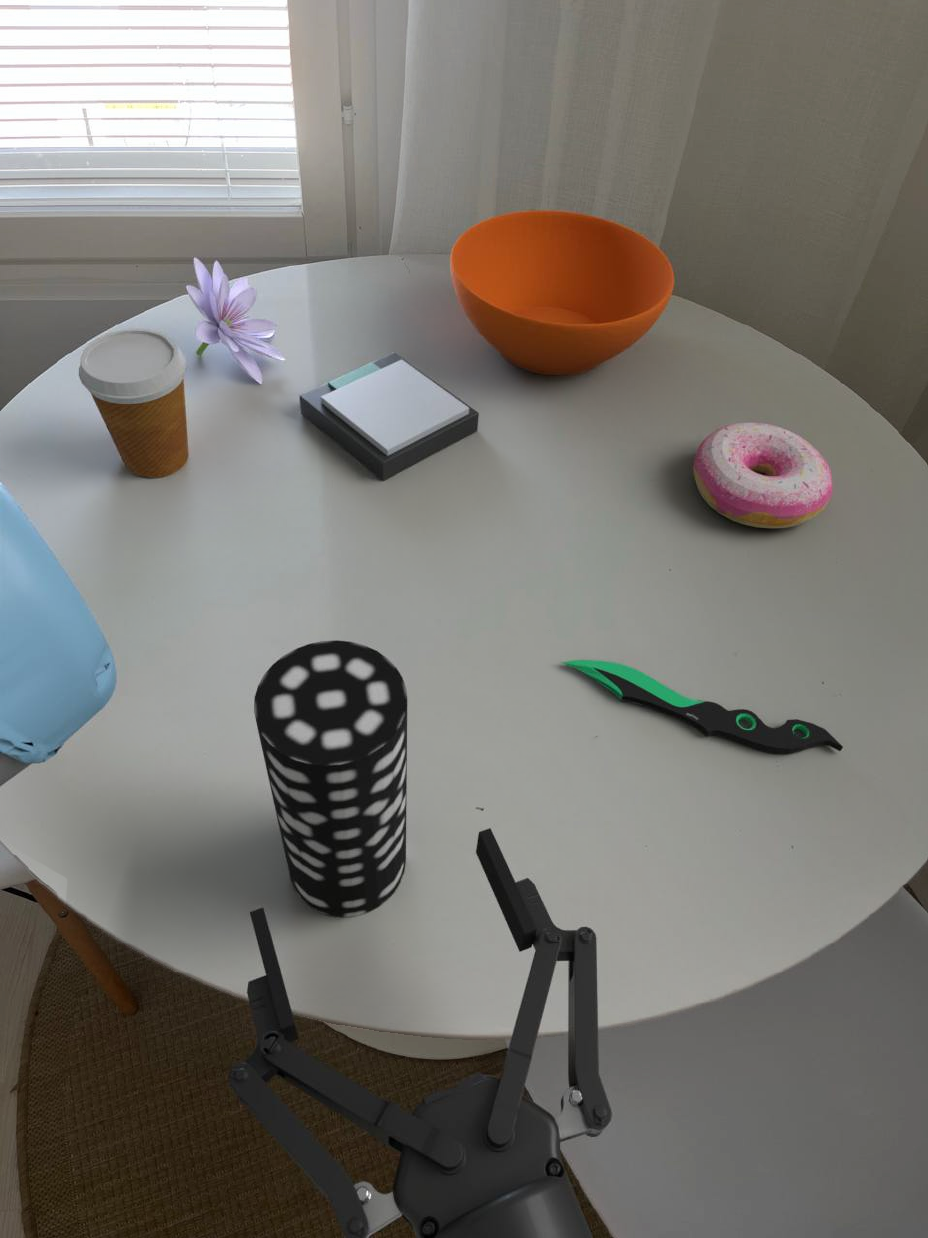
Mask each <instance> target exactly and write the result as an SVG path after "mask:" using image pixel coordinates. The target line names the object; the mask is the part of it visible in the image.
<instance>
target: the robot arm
mask: <svg viewBox="0 0 928 1238" xmlns="http://www.w3.org/2000/svg"><path fill="white" fill-rule="evenodd" d="M117 677H118V674H117V667H116V661H115V658H114V655H113V653H112V649H111V648H110V646H109V644H108V640H107V639H106V637H105V635H104V633H103V631H102V629H101V627H100V625H99V622H98V621H97V620H96V618H95V616H94V614H93V613H92V611H91V610H90V608H89V606H88V605H87V603H86V601H85V600H84V598H83V596H82V595H81V593H80V591H79V590H78V589H77V587H76V585H75V583H74V582H73V580H72V578H71V577H70V576H69V575H68V573H67V571H66V569H65V568H64V567H63V565H62V564H61V562H60V561H59V559H58V558H57V556H56V555H55V553H54V552H53V550H52V549H51V548H50V546H49V545H48V543H47V542H46V540H45V539H44V538H43V537H42V534H40V532H39V531H38V529H37V528H36V526H35V525H34V524H33V522H32V521H31V520H30V518H29V517H28V516H27V514H26V513H25V512H24V510H23V509H22V508H21V506H20V505H19V504H18V502H17V501H16V499H15V498H14V497H13V496H12V495H11V493H10V492H9V491H8V489H7V488H6V487H5V486H4V484H3V483H2V482H1V481H0V787H2V786H3V785H5V784H6V783H7V782H9V781H10V780H11V779H13V778H15V776H17V775H18V774H20V773H21V772H23V771H24V770H25V769H27V768H28V767H30V765H31V766H32V764H42V763H45V762H47V761H48V760H50V759H51V758H53V757H54V756H56V755H57V753H58V752H59V750H60V749H62V747H64V745H65V743H66V742H67V741H68V740H69V739H71V738H72V737H73V736H74V735H75V734H76V733H77V732H79V730H81V728H83V727H84V726H85V725H86V724H87V723H88V722H89V721H90V720H92V719H93V718H94V717H95V716H96V715H97V714H99V712H101V711H102V710H103V709H104V708H105V707H106V705H107V704H108V703H109V701H110V700H111V698H112V696H113V694H114V692H115V689H116V685H117ZM475 854H476V856H477V858H478V861H479V863H480V866H481V867H482V870H483V872H484V874H485V877H486V879H487V881H488V883H489V886H490V888H491V890H492V893H493V895H494V897H495V899H496V902H497V904H498V906H499V909H500V911H501V913H502V915H503V918H504V920H505V922H506V925H507V927H508V929H509V931H510V933H511V935H512V938H513V940H514V942H515V945H516V947H517V950H518V951H519V953H521V952H524V951H526V950H528V949H531V948H532V947H533V948H534V954H533V957H532V961H531V965H530V969H529V972H528V976H527V979H526V983H525V987H524V991H523V994H522V998H521V1001H520V1005H519V1008H518V1012H517V1016H516V1018H515V1019H516V1020H515V1023H514V1027H513V1029H512V1033H511V1037H510V1042H509V1044H508V1048H507V1052H506V1056H505V1059H504V1062H503V1066H502V1069H501V1073H500V1076H499V1077H498V1076H495V1075H492V1074H482V1072H481V1071H479V1072H477V1073H475V1074H472V1075H470V1076H468V1077H466V1078H465V1079H463V1080H462V1081H461V1082H460V1083H458V1084H457V1085H455V1086H454V1087H453V1088H449V1089H440V1090H435V1091H432V1092H431V1093H429V1094H425V1095H423V1096H422V1100H421V1101H419V1102H418V1103H417V1104H416V1106H415V1107H414V1108H413V1110H412V1112H411V1113H410V1112H409V1111H408V1110H406V1109H404V1108H402V1107H401V1106H399V1105H397V1104H396V1103H394V1102H393V1101H390V1100H386V1099H384V1098H382V1097H380V1096H379V1095H377V1094H376V1093H374V1092H372V1091H371V1090H369V1089H368V1088H365V1087H364V1086H362V1085H361V1084H359V1083H357V1082H356V1081H354V1080H353V1079H351V1078H349V1077H348V1076H346V1075H344V1074H342V1073H341V1072H339V1071H338V1070H336V1069H334V1068H332V1067H331V1066H329V1065H327V1064H326V1063H325V1062H323V1061H321V1060H320V1059H318V1058H316V1057H315V1056H313V1055H312V1054H309V1052H306V1051H304V1050H303V1049H301V1048H300V1047H298V1046H297V1045H295V1044H293V1042H296V1041H298V1040H300V1035H299V1032H298V1029H297V1026H296V1022H295V1018H294V1014H293V1011H292V1007H291V1004H290V1000H289V995H288V992H287V989H286V984H285V981H284V978H283V974H282V970H281V966H280V962H279V959H278V956H277V955H278V954H277V952H276V948H275V945H274V941H273V938H272V933H271V930H270V928H269V927H270V926H269V922H268V919H267V916H266V913H265V908H264V907H260V908H257V909H255V910H252V911H249V916H250V919H251V923H252V927H253V931H254V934H255V938H256V943H257V946H258V950H259V953H260V957H261V961H262V964H263V968H264V973H265V975H262V976H260V977H257V978H254V979H252V980H249V981H248V982H247V989H246V993H247V998H248V1002H249V1007H250V1010H251V1014H252V1015H251V1016H252V1019H253V1022H254V1027H255V1031H256V1035H257V1045H256V1048H255V1049H254V1050H253V1052H252V1053H251V1054H250V1055H248V1057H246V1058H245V1059H244V1060H243V1061H241V1062H236V1063H235V1064H234V1065H233V1066H231V1068H230V1069H229V1071H228V1075H227V1078H228V1083H229V1085H230V1087H231V1089H232V1090H233V1092H234V1094H235V1095H236V1097H237V1098H238V1100H240V1102H241V1103H242V1104H243V1105H244V1106H245V1107H246V1109H247V1110H248V1111H249V1112H250V1113H251V1114H252V1115H253V1117H254V1118H255V1119H256V1120H257V1121H258V1122H259V1123H260V1124H261V1125H262V1127H263V1128H264V1129H265V1130H266V1132H267V1133H268V1134H269V1135H270V1136H271V1137H272V1139H274V1140H275V1142H276V1143H277V1144H278V1145H279V1146H280V1147H281V1148H282V1149H283V1150H284V1152H285V1153H286V1154H287V1155H288V1156H289V1157H290V1158H291V1160H292V1161H293V1162H294V1164H295V1165H297V1167H298V1168H299V1169H300V1170H301V1171H302V1172H303V1173H304V1175H305V1176H306V1177H307V1178H308V1179H309V1180H310V1181H311V1182H312V1183H313V1185H314V1186H315V1187H316V1188H317V1189H318V1190H319V1191H320V1192H321V1194H322V1195H323V1196H324V1197H325V1198H326V1200H327V1201H328V1202H329V1203H330V1205H331V1207H332V1210H333V1212H334V1215H335V1217H336V1220H337V1223H338V1225H339V1228H340V1231H341V1233H342V1236H343V1238H370V1236H372V1235H373V1234H376V1233H377V1232H378V1231H380V1230H382V1229H383V1228H385V1227H386V1226H388V1225H389V1224H391V1223H392V1222H394V1221H396V1220H398V1219H399V1218H400V1217H402V1218H403V1219H404V1220H405V1221H406V1222H407V1223H408V1225H409V1226H410V1228H411V1229H412V1231H413V1233H414V1235H415V1238H594V1237H593V1234H592V1231H591V1229H590V1227H589V1225H588V1222H587V1220H586V1216H585V1215H584V1214H585V1213H584V1212H583V1210H582V1208H581V1205H580V1202H579V1200H578V1198H577V1195H576V1192H575V1189H574V1187H573V1186H572V1183H571V1180H570V1178H569V1176H568V1173H567V1170H566V1168H565V1166H564V1163H563V1160H562V1153H561V1143H562V1142H565V1141H568V1140H571V1139H574V1138H577V1137H581V1136H587V1137H589V1138H596V1137H598V1136H600V1135H601V1134H602V1133H603V1131H604V1130H605V1129H606V1128H607V1127H608V1126H609V1124H610V1122H611V1121H612V1118H613V1112H612V1108H611V1105H610V1102H609V1099H608V1097H607V1093H606V1089H605V1087H604V1085H603V1081H602V1079H601V1075H600V1058H599V1056H600V1055H599V1007H598V1004H599V1002H598V1001H599V1000H598V949H597V948H598V947H597V934H596V933H595V930H593V929H592V928H591V927H588V926H581V927H579V928H577V929H570V930H569V929H561V928H559V927H558V926H556V924H555V923H554V922H553V920H552V917H551V916H550V913H549V912H548V909H547V907H546V905H545V903H544V901H543V900H542V897H541V895H540V894H539V891H538V889H537V887H536V884H535V883H534V882H533V881H532V880H531V879H530V878H529V877H526V878H524V879H521V880H518V881H516V880H515V878H514V875H513V873H512V871H511V869H510V867H509V865H508V863H507V861H506V858H505V856H504V854H503V852H502V850H501V848H500V845H499V843H498V841H497V839H496V836H495V835H494V832H493V830H492V828H491V827H489V828H486V829H483V830H481V831H478V835H477V841H476V849H475ZM557 962H567V964H568V965H567V967H568V968H567V971H568V973H567V975H568V981H567V982H568V983H567V986H568V987H567V989H568V991H567V992H568V993H567V995H568V996H567V997H568V998H567V999H568V1000H567V1007H568V1008H567V1012H568V1013H567V1015H568V1016H567V1030H568V1031H567V1033H568V1034H567V1074H568V1075H567V1076H568V1077H567V1078H568V1079H567V1080H568V1087H567V1089H565V1091H564V1093H563V1094H562V1096H561V1098H560V1113H559V1114H558V1115H556V1116H553V1114H551V1113H550V1112H549V1111H548V1110H546V1109H545V1108H543V1107H541V1106H540V1105H539V1104H537V1103H536V1102H535V1101H533V1100H532V1099H530V1098H529V1097H527V1096H526V1095H524V1090H525V1087H526V1082H527V1079H528V1074H529V1071H530V1067H531V1062H532V1057H533V1053H534V1050H535V1046H536V1042H537V1039H538V1035H539V1030H540V1026H541V1023H542V1019H543V1015H544V1011H545V1008H546V1005H547V1000H548V996H549V992H550V988H551V984H552V981H553V978H554V973H555V969H556V966H557ZM275 1076H277V1077H279V1078H280V1079H282V1080H284V1081H285V1082H287V1083H289V1084H290V1085H291V1086H293V1087H295V1088H296V1089H297V1090H299V1091H301V1092H303V1093H304V1094H306V1095H308V1096H309V1097H311V1098H313V1099H314V1100H315V1101H317V1102H319V1103H321V1104H322V1105H324V1106H325V1107H327V1108H329V1109H330V1110H332V1111H333V1112H335V1113H337V1114H338V1115H339V1116H342V1117H343V1118H344V1119H346V1120H348V1121H349V1122H351V1123H353V1124H354V1125H356V1126H357V1127H359V1128H361V1129H362V1130H364V1131H365V1132H367V1133H369V1134H370V1135H372V1136H373V1137H374V1138H375V1139H376V1140H377V1141H379V1142H380V1143H381V1144H383V1145H384V1146H387V1147H388V1148H390V1149H391V1150H392V1151H394V1152H396V1153H397V1154H399V1159H398V1164H397V1167H396V1171H395V1176H394V1179H393V1183H392V1191H390V1192H388V1193H381V1192H379V1191H377V1189H376V1188H375V1187H374V1186H373V1185H372V1183H370V1182H369V1181H366V1180H364V1181H363V1180H362V1181H358V1182H357V1183H355V1184H354V1183H353V1181H352V1180H351V1178H350V1176H349V1175H348V1173H347V1172H346V1171H345V1169H344V1168H343V1167H342V1166H341V1164H340V1163H339V1162H338V1161H337V1160H336V1158H334V1156H333V1155H332V1154H331V1153H330V1152H329V1151H328V1150H327V1148H325V1147H324V1145H323V1144H322V1143H321V1141H319V1140H318V1139H317V1137H316V1136H315V1135H313V1133H312V1132H311V1131H310V1130H309V1129H308V1128H307V1127H306V1125H304V1123H303V1122H302V1121H301V1120H300V1119H299V1118H298V1117H297V1115H296V1114H295V1113H294V1112H293V1111H292V1110H291V1109H290V1108H289V1107H288V1105H286V1103H285V1102H284V1101H283V1100H282V1098H280V1097H279V1095H278V1094H277V1093H276V1092H275V1091H274V1090H273V1089H272V1088H271V1087H270V1086H269V1085H268V1082H269V1081H270V1080H271V1079H273V1078H274V1077H275Z"/></svg>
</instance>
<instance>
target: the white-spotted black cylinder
mask: <svg viewBox="0 0 928 1238" xmlns="http://www.w3.org/2000/svg"><path fill="white" fill-rule="evenodd" d="M407 692H408V691H407V687H406V684H405V681H404V678H403V676H402V675H401V672H400V671H399V670H398V668H397V667H396V665H395V664H394V663H393V662H392V661H391V660H390V659H389V658H388V657H386V656H385V655H383V654H382V653H381V652H379V651H378V650H376V649H374V648H372V647H369V646H367V645H365V644H362V643H357V642H354V641H349V640H348V641H346V640H339V639H338V640H321V641H317V642H311V643H308V644H305V645H302V646H300V647H297V648H295V649H293V650H291V651H289V652H287V653H285V654H283V655H282V656H281V657H280V658H279V659H277V660H276V661H275V662H274V663H273V664H272V665H271V666H270V667H269V668H268V669H267V670H266V672H265V673H264V674H263V676H262V677H261V680H260V681H259V683H258V685H257V688H256V691H255V694H254V698H253V699H254V700H253V701H254V702H253V713H254V718H255V723H256V727H257V732H258V737H259V741H260V747H261V751H262V754H263V759H264V760H263V761H264V764H265V769H266V773H267V778H268V782H269V787H270V791H271V796H272V802H273V806H274V811H275V815H276V820H277V823H278V828H279V832H280V833H279V834H280V837H281V843H282V846H283V850H284V855H285V860H286V864H287V865H286V866H287V869H288V873H289V879H290V882H291V884H292V886H293V889H294V891H295V893H296V894H297V895H298V896H299V897H300V899H301V901H303V902H304V903H305V904H306V905H308V906H309V907H310V908H311V909H314V910H315V911H317V912H319V913H321V914H324V915H326V916H330V917H339V918H348V917H351V918H352V917H357V916H361V915H364V914H367V913H370V912H371V911H374V910H375V909H378V908H379V907H381V906H382V905H384V903H386V902H387V901H388V900H389V899H390V898H391V897H392V896H393V895H394V894H395V893H396V891H397V889H398V887H399V886H400V884H401V882H402V879H403V878H404V875H405V872H406V871H405V869H406V864H407V793H408V792H407V791H408V789H407V788H408V787H407V786H408V785H407V783H408V781H407V778H408V693H407Z"/></svg>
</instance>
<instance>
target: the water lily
mask: <svg viewBox="0 0 928 1238" xmlns="http://www.w3.org/2000/svg"><path fill="white" fill-rule="evenodd" d="M193 268H194V273H195V278H196V282H197V285H198V288H197V287H196V286H194V285H192V284H191V285H189V284H188V285H186V286H185V288H186V291H187V293H188V296H189V298H190V300H191V302H192V304H193V305H194V306H195V308H196V309H197V311H198V312H199V313H200V314H201V315H202V316H203V318H205V320H201V321H199V322H198V323H197V325H196V327H195V333H194V334H195V338H196V339H197V340H198V341H200V342H201V344H200V346H199V347H198V348H197V350H196V352H195V353H196V354H197V355H198V356H200V357H201V356H202V355H203V354H204V352H205V350H207V348H208V346H209V345H214V344H217V343H219V342H220V341H221V342H222V344H223V345H225V347H226V348H227V349H228V351H229V352H230V354H231V355H232V357H233V359H234V360H235V362H237V364H238V365H239V366H240V367H241V369H242V370H243V371H244V372H245V373H246V374H248V376H250V377H251V378H252V379H253V380H254V381H255V382H257V383H258V384H260V385H262V384H263V375H262V372H261V370H260V367H259V365H258V364H257V362H256V361H255V359H254V358H253V357H252V355H250V353H249V352H248V351H247V350H246V349H245V348H247V349H248V350H251V351H253V352H255V353H257V354H260V355H262V356H265V357H267V358H271V359H274V360H280V361H286V358H285V357H284V355H282V353H281V352H280V351H279V350H277V349H276V348H275V347H274V346H272V345H271V344H269V343H267V342H266V341H264V340H261V339H268V338H272V337H273V336H274V334H275V332H276V330H275V329H277V328H278V327H279V326H278V324H277V323H275V322H273V321H271V320H268V319H263V318H250V316H246V314H247V313H248V312H249V311H250V310H251V309H252V308H253V306H254V305H255V302H256V300H257V295H258V291H257V288H255V287H251V285H250V281H249V279H248V278H247V277H241V278H239V279H238V280H236V281H235V282H234V284H233V285H232V286H231V287H230V281H229V278H228V275H227V274H226V273H225V272H224V270H223V267H222V265H221V264H220V263H219V261H218V260H215V261H214V264H213V267H212V272H211V273H212V275H210V272H209V271H208V269H207V268H206V266H205V265H204V263H202V261H201V260H199V258H197V257H195V256H194V257H193ZM249 318H250V319H249ZM244 347H245V348H244Z"/></svg>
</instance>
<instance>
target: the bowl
mask: <svg viewBox="0 0 928 1238" xmlns="http://www.w3.org/2000/svg"><path fill="white" fill-rule="evenodd" d="M449 265H450V266H449V270H450V276H451V282H452V286H453V289H454V292H455V295H456V297H457V300H458V302H459V305H460V306H461V308H462V310H463V312H464V313H465V315H466V317H467V318H468V320H469V321H470V323H471V324H472V325H473V327H474V328H475V329H476V331H477V332H478V333H479V334H480V335H481V336H482V337H483V338H484V339H485V340H486V342H488V343H489V344H490V345H491V346H492V347H493V348H494V349H496V351H497V352H498V353H499V354H500V355H501V356H502V357H503V358H505V359H506V360H507V361H508V362H510V363H511V364H512V365H515V366H517V367H519V368H520V369H523V370H526V371H529V372H532V373H536V374H541V375H547V376H572V375H577V374H582V373H585V372H587V371H590V370H593V369H594V368H596V367H597V366H599V365H600V364H602V363H604V362H606V361H609V360H611V359H613V358H615V357H617V356H618V355H619V354H622V353H624V352H625V351H626V350H627V349H629V348H631V347H632V346H633V345H634V344H636V343H637V342H638V341H639V340H640V339H641V338H643V337H644V336H645V335H646V334H647V333H648V332H649V330H650V329H652V328H653V326H654V325H655V324H656V323H657V322H658V320H659V319H660V317H661V316H662V314H663V313H664V311H665V309H666V307H667V306H668V303H669V301H670V299H671V296H672V294H673V291H674V287H675V273H674V269H673V266H672V264H671V262H670V260H669V259H668V257H667V256H666V254H665V253H664V252H663V251H662V250H661V249H660V248H659V246H658V245H656V244H655V243H654V242H652V241H651V240H650V239H648V238H647V237H646V236H644V235H643V234H640V233H639V232H637V231H635V230H634V229H632V228H629V227H627V226H625V225H623V224H620V223H618V222H616V221H615V222H614V221H612V220H608V219H607V218H606V219H605V218H603V217H598V216H594V215H591V214H587V213H586V214H585V213H580V212H573V211H564V210H554V209H553V210H552V209H550V210H549V209H548V210H546V209H545V210H544V209H543V210H542V209H541V210H538V209H537V210H523V211H516V212H509V213H504V214H500V215H497V216H493V217H490V218H488V219H484V220H483V221H480V222H477V223H476V224H475V225H472V226H471V227H469V229H467V230H466V231H464V232H463V233H462V234H461V235H460V236H459V237H458V238H457V240H456V241H455V242H454V244H453V247H452V249H451V253H450V257H449Z"/></svg>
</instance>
